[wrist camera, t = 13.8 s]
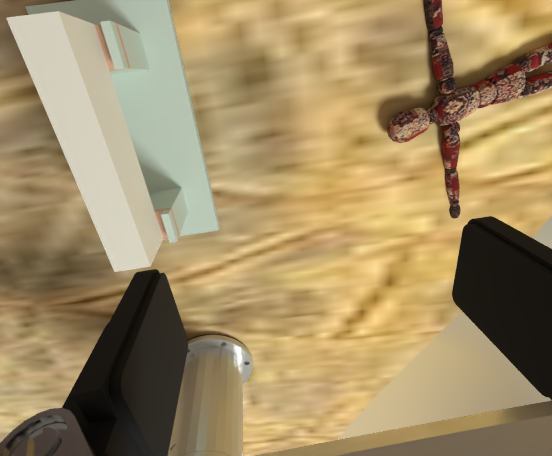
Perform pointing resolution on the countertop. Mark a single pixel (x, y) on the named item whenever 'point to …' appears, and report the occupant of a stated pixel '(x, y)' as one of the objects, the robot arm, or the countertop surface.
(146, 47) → the display stand
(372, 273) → the countertop surface
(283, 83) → the countertop surface
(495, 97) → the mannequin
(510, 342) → the robot arm
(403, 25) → the countertop surface
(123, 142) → the cream rectangular beam
